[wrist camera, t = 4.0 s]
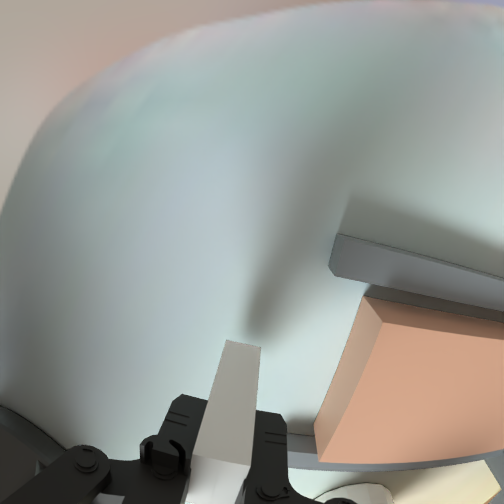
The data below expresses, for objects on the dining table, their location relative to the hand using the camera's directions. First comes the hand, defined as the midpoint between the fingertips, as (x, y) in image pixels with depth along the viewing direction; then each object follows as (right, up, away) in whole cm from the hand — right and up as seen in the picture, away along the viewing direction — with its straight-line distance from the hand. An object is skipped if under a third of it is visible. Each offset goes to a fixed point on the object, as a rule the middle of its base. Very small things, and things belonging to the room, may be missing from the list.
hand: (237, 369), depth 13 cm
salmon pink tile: (+12, -2, +2) cm, 12 cm away
